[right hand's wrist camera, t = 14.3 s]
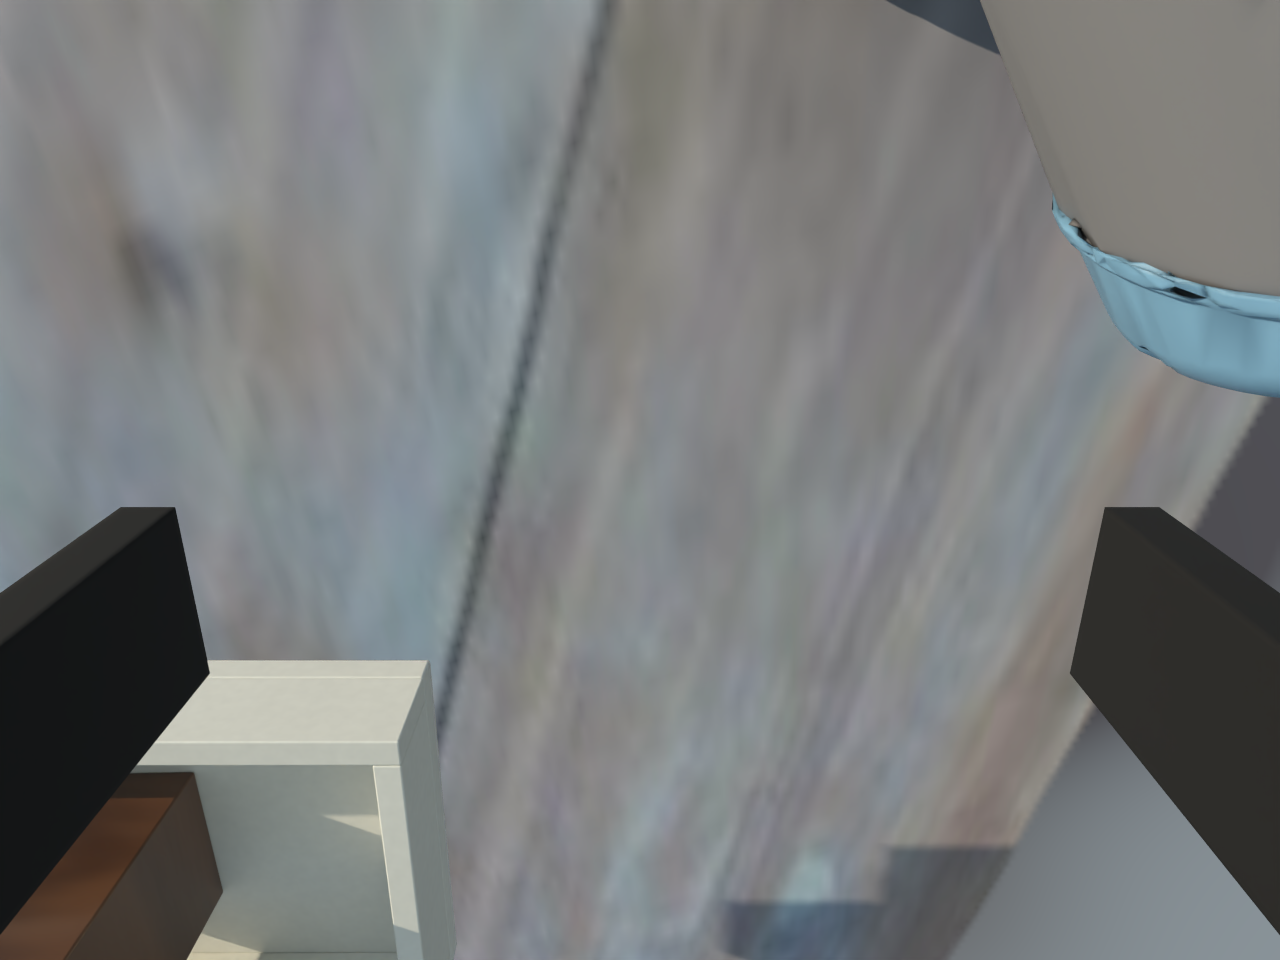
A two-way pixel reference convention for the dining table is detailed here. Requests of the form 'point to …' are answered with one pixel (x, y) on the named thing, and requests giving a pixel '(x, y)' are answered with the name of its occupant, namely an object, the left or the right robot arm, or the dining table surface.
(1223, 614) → the right robot arm
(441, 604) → the dining table surface
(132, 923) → the walnut block
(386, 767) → the tray
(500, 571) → the dining table surface
